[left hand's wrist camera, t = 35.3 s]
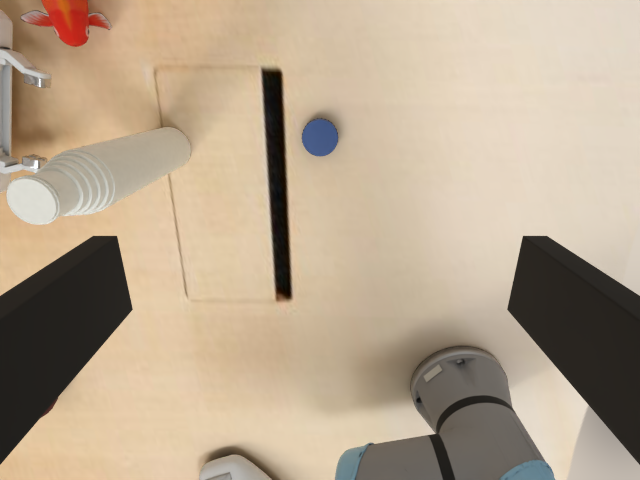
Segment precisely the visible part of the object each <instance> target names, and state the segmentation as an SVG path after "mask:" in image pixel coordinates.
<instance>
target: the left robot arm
mask: <svg viewBox="0 0 640 480" xmlns="http://www.w3.org/2000/svg"><path fill="white" fill-rule="evenodd" d="M132 310H133V309H132V304H131V300H130V295H129V290H128V286H127V281H126V276H125V272H124V267H123V262H122V257H121V253H120V248H119V243H118V239H117V236H93V237H91V238H89V239H88V240H86V241H85V242H83V243H82V244H80V245H79V246H77V247H75V248H74V249H72V250H71V251H69V252H68V253H66V254H65V255H63V256H62V257H60V258H58V259H57V260H55V261H54V262H52V263H51V264H49V265H48V266H46V267H44V268H43V269H41V270H40V271H38V272H37V273H35V274H34V275H32V276H30V277H29V278H27V279H26V280H24V281H23V282H21V283H20V284H18V285H17V286H15V287H13V288H12V289H10V290H9V291H7V292H6V293H4V294H3V295H1V296H0V464H1V463H2V462H3V461H4V460H5V458H6V457H7V456H8V455H9V454H10V453H11V451H12V450H13V449H14V448H15V447H16V446H17V444H18V443H19V442H20V441H21V440H22V439H23V437H24V436H25V435H26V434H27V433H28V432H29V430H30V429H31V428H32V427H33V426H34V424H35V423H36V422H37V421H38V420H39V419H40V417H41V416H42V415H43V414H44V413H45V412H46V410H47V409H48V408H49V407H50V406H51V405H52V403H53V402H54V401H55V400H56V399H57V398H58V396H59V395H60V394H61V393H62V392H63V390H64V389H65V388H66V387H67V386H68V385H69V383H70V382H71V381H72V380H73V379H74V378H75V376H76V375H77V374H78V373H79V372H80V371H81V369H82V368H83V367H84V366H85V365H86V364H87V362H88V361H89V360H90V359H91V358H92V356H93V355H94V354H95V353H96V352H97V351H98V349H99V348H100V347H101V346H102V345H103V344H104V342H105V341H106V340H107V339H108V338H109V337H110V335H111V334H112V333H113V332H114V331H115V330H116V328H117V327H118V326H119V325H120V324H121V323H122V321H123V320H124V319H125V318H126V317H127V315H128V314H129V313H130V312H131V311H132ZM507 310H508V311H509V312H510V313H511V314H512V315H513V317H514V318H515V319H516V320H517V321H518V323H519V324H520V325H521V326H522V327H523V328H524V330H525V331H526V332H527V333H528V334H529V335H530V337H531V338H532V339H533V340H534V341H535V342H536V344H537V345H538V346H539V347H540V348H541V349H542V351H543V352H544V353H545V354H546V355H547V357H548V358H549V359H550V360H551V361H552V362H553V364H554V365H555V366H556V367H557V368H558V369H559V371H560V372H561V373H562V374H563V375H564V376H565V378H566V379H567V380H568V381H569V382H570V383H571V385H572V386H573V387H574V388H575V389H576V390H577V392H578V393H579V394H580V395H581V396H582V398H583V399H584V400H585V401H586V402H587V403H588V405H589V406H590V407H591V408H592V409H593V410H594V412H595V413H596V414H597V415H598V416H599V417H600V419H601V420H602V421H603V422H604V423H605V424H606V426H607V427H608V428H609V429H610V430H611V431H612V433H613V434H614V435H615V436H616V437H617V439H618V440H619V441H620V442H621V443H622V444H623V445H624V447H625V448H626V449H627V450H628V451H629V453H630V454H631V455H632V456H633V457H634V458H635V460H636V461H637V462H638V463H639V464H640V296H639V295H637V294H636V293H634V292H633V291H631V290H630V289H628V288H626V287H625V286H623V285H622V284H620V283H619V282H617V281H616V280H614V279H613V278H611V277H610V276H608V275H606V274H605V273H603V272H602V271H600V270H599V269H597V268H596V267H594V266H592V265H591V264H589V263H588V262H586V261H585V260H583V259H582V258H580V257H578V256H577V255H575V254H574V253H572V252H571V251H569V250H568V249H566V248H565V247H563V246H561V245H560V244H558V243H557V242H555V241H554V240H552V239H551V238H549V237H547V236H523V239H522V243H521V248H520V253H519V257H518V262H517V267H516V272H515V276H514V281H513V286H512V290H511V295H510V300H509V304H508V309H507ZM411 394H412V398H413V401H414V405H415V407H416V409H417V411H418V412H419V413H420V414H421V416H422V417H423V418H424V419H425V421H426V422H427V423H428V424H429V426H430V427H431V428H432V429H433V431H434V432H435V433H436V434H433V435H427V436H421V437H415V438H409V439H403V440H397V441H390V442H384V443H378V444H374V443H368V444H366V445H365V446H361V447H357V448H352V449H348V450H346V451H345V452H344V453H343V455H342V456H341V457H340V459H339V461H338V465H337V469H336V475H335V480H555V478H554V474H553V472H552V469H551V467H550V466H549V465H548V463H546V462H545V460H544V458H543V457H542V455H541V453H540V452H539V450H538V449H537V447H536V445H535V444H534V442H533V440H532V439H531V437H530V436H529V434H528V432H527V431H526V429H525V428H524V426H523V424H522V423H521V421H520V419H519V418H518V416H517V415H516V413H515V411H514V410H513V408H512V403H511V397H510V392H509V387H508V380H507V376H506V374H505V372H504V370H503V369H502V367H501V366H500V364H499V363H498V361H497V360H496V359H495V358H494V357H493V356H492V355H490V354H489V353H487V352H486V351H483V350H481V349H478V348H474V347H467V346H459V347H451V348H447V349H444V350H441V351H439V352H436V353H434V354H433V355H431V356H429V357H428V358H427V359H425V360H424V361H423V362H422V363H421V364H420V365H419V366H418V368H417V369H416V371H415V372H414V374H413V377H412V380H411Z"/></svg>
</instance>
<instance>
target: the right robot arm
mask: <svg viewBox="0 0 640 480" xmlns="http://www.w3.org/2000/svg"><path fill="white" fill-rule="evenodd" d="M12 43H13V23H12V21H11V20H10V18H9V17H8V16H7V15H6V14H5V13H4V12H3V11H2V10H0V193H3V192H5V191H7V189H8V188H7V187H8V185H9V184H10V183H11V172H16V171H20V170H27V171H31V172H35V173H36V172H37V171H38V170H40V169H41V168H42V167H43V166H44V165H45V164H46V163H47V158H45V157H42V158H41V157H40V156H38V155H34V154H32V155H29V156H23V157H22V163H21V164H18V163H19V160H18V159H17V158H13V157H11V132H12V66H14V67H15V68H17V69H18V70H19V71H20V72H21V73H23V74H24V83H27V84H30V85H35V86H37V87H41V88H46V87H47V88H51V74H50V73H47V72H44V71H41V70H38V69H36V67H35V66H34V65H33V64H32V63H31V62H30V61H29V60H28V59H27V58H25V57H24V56H23V55H22V54H21V53H19V52H16V51H13V50H12Z"/></svg>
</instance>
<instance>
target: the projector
mask: <svg viewBox="0 0 640 480" xmlns="http://www.w3.org/2000/svg"><path fill="white" fill-rule="evenodd" d="M199 480H272V479H271V478H270V477H269V476H268V475H266V474H265V473H264V472H263V471H262V470H261V469H259V468H258V467H257V466H256V465H254V464H253V463H252V462H250V461H249V460H247V459H246V458H244V457H242V456H240V455H230V456H226V457H222V458H219V459H215V460H213V461H210V462H208V463H206V464H204V465H203V467H202V469H201V471H200V476H199Z"/></svg>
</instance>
